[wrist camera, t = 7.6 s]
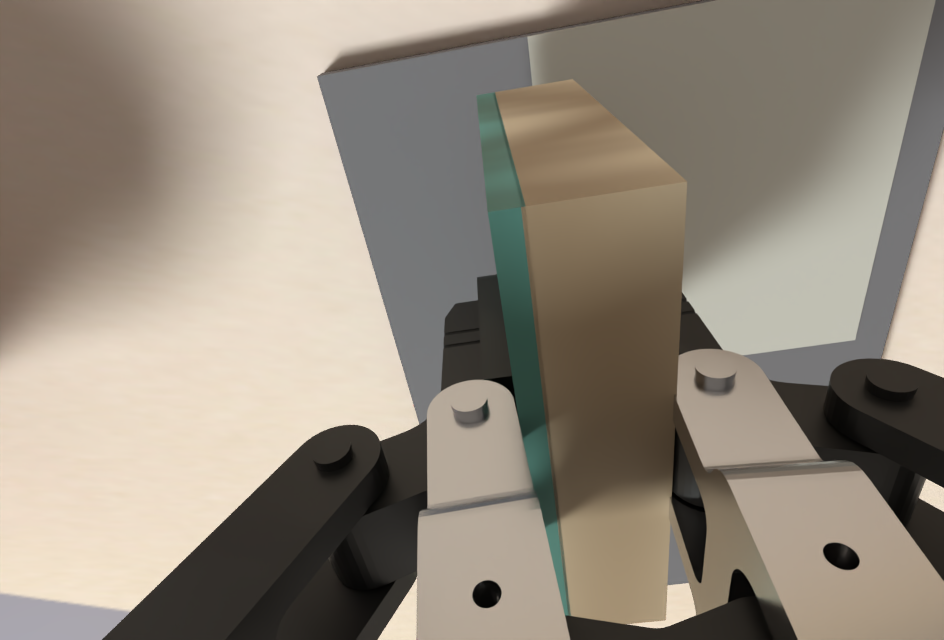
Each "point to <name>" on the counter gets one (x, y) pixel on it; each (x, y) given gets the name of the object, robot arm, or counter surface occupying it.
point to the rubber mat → (677, 166)
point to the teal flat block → (590, 335)
